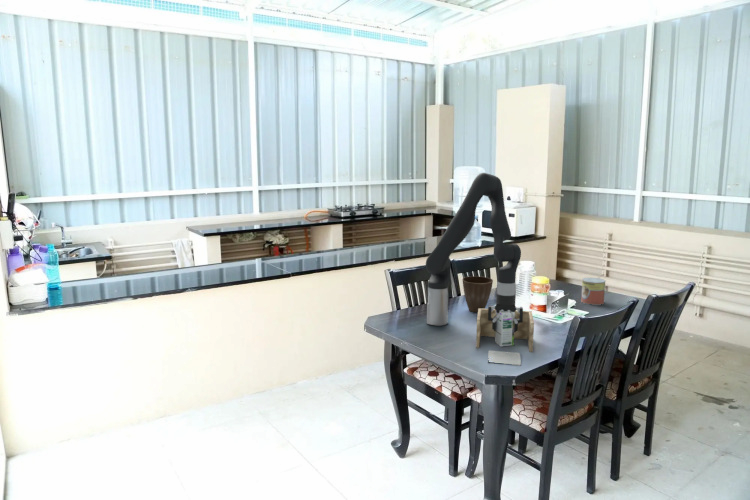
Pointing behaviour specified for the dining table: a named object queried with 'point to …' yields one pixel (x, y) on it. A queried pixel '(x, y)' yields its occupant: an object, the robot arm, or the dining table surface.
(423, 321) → the dining table surface
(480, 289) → the plant pot
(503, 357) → the grey mat
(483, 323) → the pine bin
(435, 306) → the robot arm
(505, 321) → the syrup box
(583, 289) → the canned food
